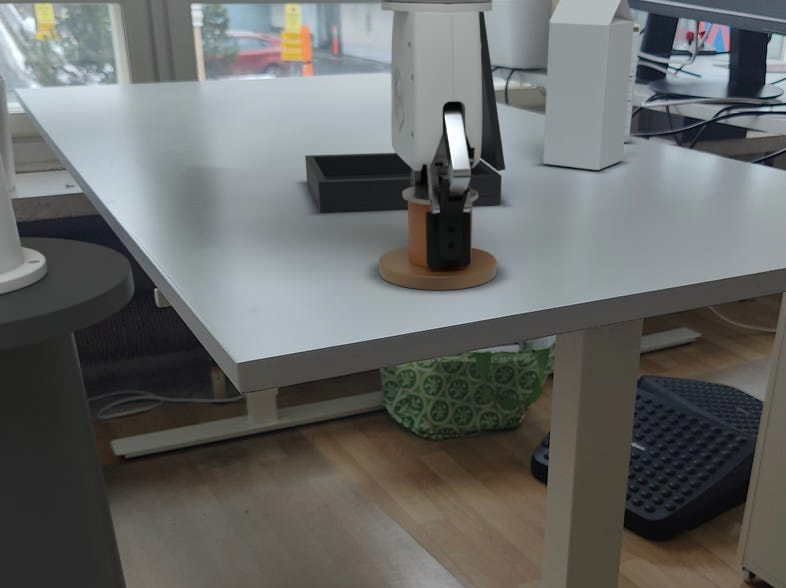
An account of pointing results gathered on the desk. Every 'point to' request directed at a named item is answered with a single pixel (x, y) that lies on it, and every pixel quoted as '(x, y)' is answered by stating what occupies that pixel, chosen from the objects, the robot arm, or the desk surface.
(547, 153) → the milk carton
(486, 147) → the holder lid
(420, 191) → the coffee pod
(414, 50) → the robot arm
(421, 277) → the coaster
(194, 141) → the desk surface
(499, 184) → the tray
